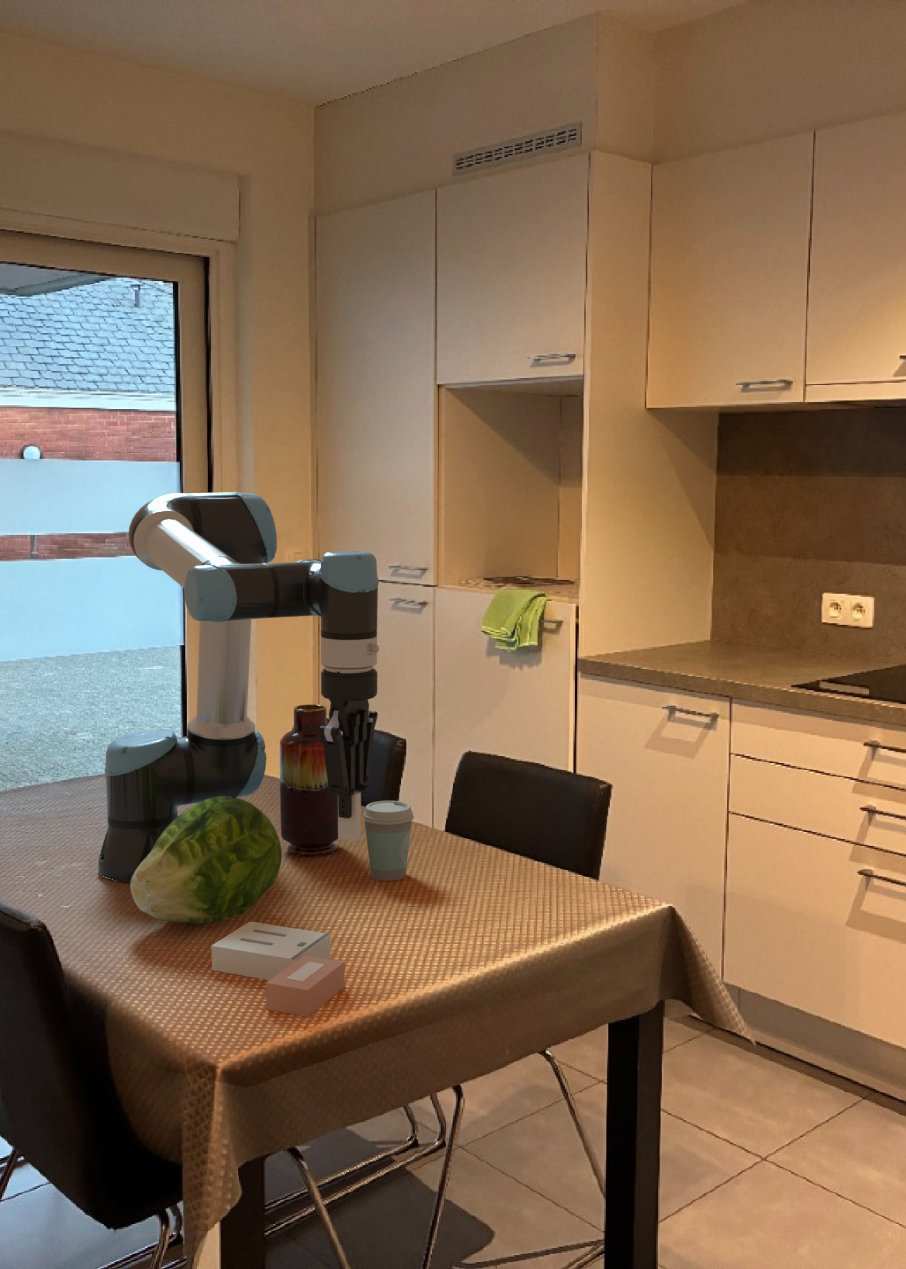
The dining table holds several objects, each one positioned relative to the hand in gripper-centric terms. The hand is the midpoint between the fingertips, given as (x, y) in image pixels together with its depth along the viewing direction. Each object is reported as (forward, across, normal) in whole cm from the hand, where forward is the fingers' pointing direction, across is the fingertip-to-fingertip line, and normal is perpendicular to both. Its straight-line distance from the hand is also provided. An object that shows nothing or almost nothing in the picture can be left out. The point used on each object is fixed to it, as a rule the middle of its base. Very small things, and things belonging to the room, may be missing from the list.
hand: (349, 838), depth 170 cm
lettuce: (+19, +8, +28) cm, 35 cm away
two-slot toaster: (+18, -4, +10) cm, 21 cm away
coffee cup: (+19, +37, +12) cm, 43 cm away
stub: (+18, -12, 0) cm, 22 cm away
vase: (+19, +45, +31) cm, 58 cm away
